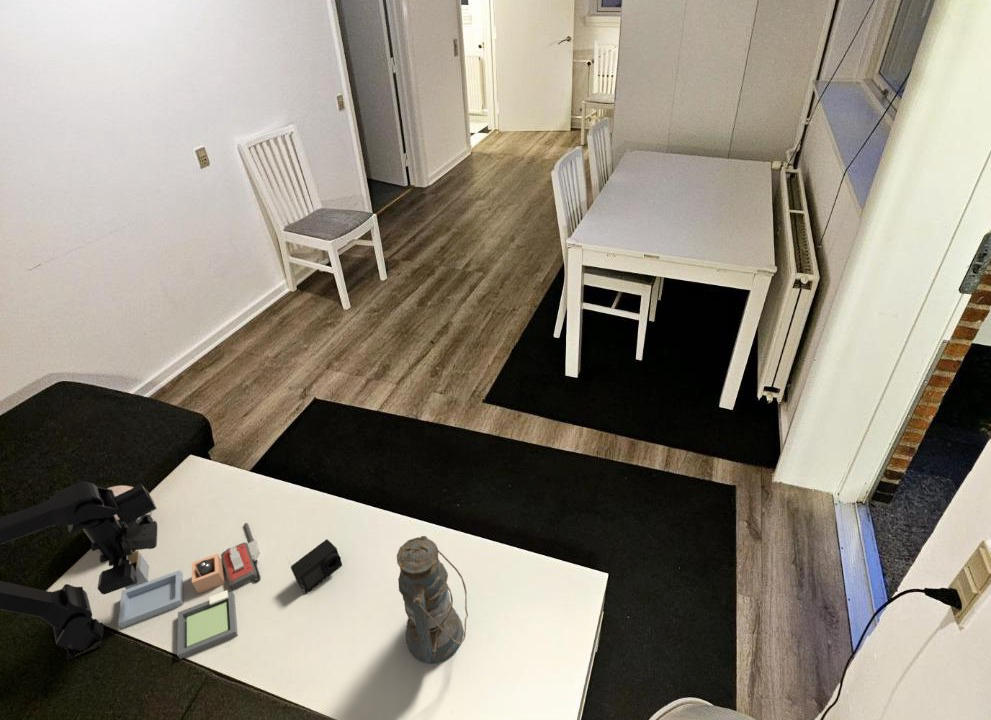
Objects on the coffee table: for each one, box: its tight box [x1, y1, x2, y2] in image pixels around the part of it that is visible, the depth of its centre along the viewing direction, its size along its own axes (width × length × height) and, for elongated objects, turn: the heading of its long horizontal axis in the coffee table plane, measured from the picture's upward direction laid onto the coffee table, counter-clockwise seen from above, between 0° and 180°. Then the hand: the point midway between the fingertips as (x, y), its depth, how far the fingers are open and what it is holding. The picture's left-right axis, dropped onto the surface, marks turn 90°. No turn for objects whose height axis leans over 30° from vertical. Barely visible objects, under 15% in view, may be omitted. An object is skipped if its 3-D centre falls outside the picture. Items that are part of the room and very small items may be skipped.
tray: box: [117, 569, 184, 629], centre depth 135 cm, size 13×9×2 cm
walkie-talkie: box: [220, 522, 262, 591], centre depth 144 cm, size 9×4×20 cm
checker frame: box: [176, 589, 239, 660], centre depth 129 cm, size 12×12×3 cm
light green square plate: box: [186, 602, 230, 647], centre depth 129 cm, size 9×8×1 cm
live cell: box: [124, 550, 150, 590], centre depth 128 cm, size 4×4×6 cm
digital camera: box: [290, 539, 343, 594], centre depth 137 cm, size 10×5×7 cm, turn 137°
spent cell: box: [197, 560, 215, 576], centre depth 138 cm, size 3×3×6 cm
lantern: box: [396, 535, 469, 664], centre depth 117 cm, size 19×14×30 cm
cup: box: [191, 553, 226, 594], centre depth 138 cm, size 6×6×5 cm
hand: (135, 575), depth 130 cm, fingers closed on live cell, 4 cm apart
